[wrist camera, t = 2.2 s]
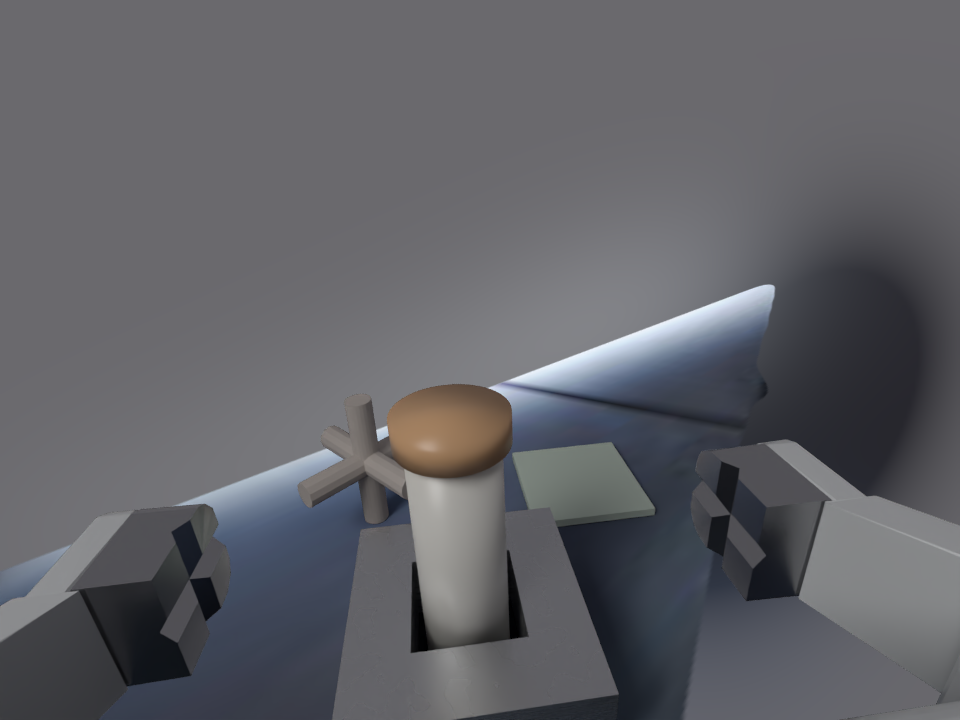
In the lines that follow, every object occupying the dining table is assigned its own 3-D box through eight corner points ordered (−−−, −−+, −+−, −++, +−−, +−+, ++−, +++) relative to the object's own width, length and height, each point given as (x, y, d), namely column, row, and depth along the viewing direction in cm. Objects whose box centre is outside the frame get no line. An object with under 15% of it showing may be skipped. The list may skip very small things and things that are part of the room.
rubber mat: (534, 529, 36) (534, 523, 35) (512, 458, 44) (512, 452, 44) (654, 515, 36) (655, 508, 36) (611, 447, 45) (611, 442, 44)
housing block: (345, 795, 21) (329, 738, 20) (369, 577, 32) (361, 529, 31) (613, 751, 22) (618, 694, 21) (549, 554, 33) (549, 507, 32)
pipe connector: (389, 462, 44) (374, 359, 40) (468, 509, 38) (460, 393, 34) (284, 521, 38) (254, 406, 34) (359, 591, 31) (333, 459, 28)
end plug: (420, 706, 25) (383, 453, 19) (420, 613, 30) (390, 390, 24) (527, 690, 25) (522, 438, 19) (509, 601, 30) (501, 379, 24)
